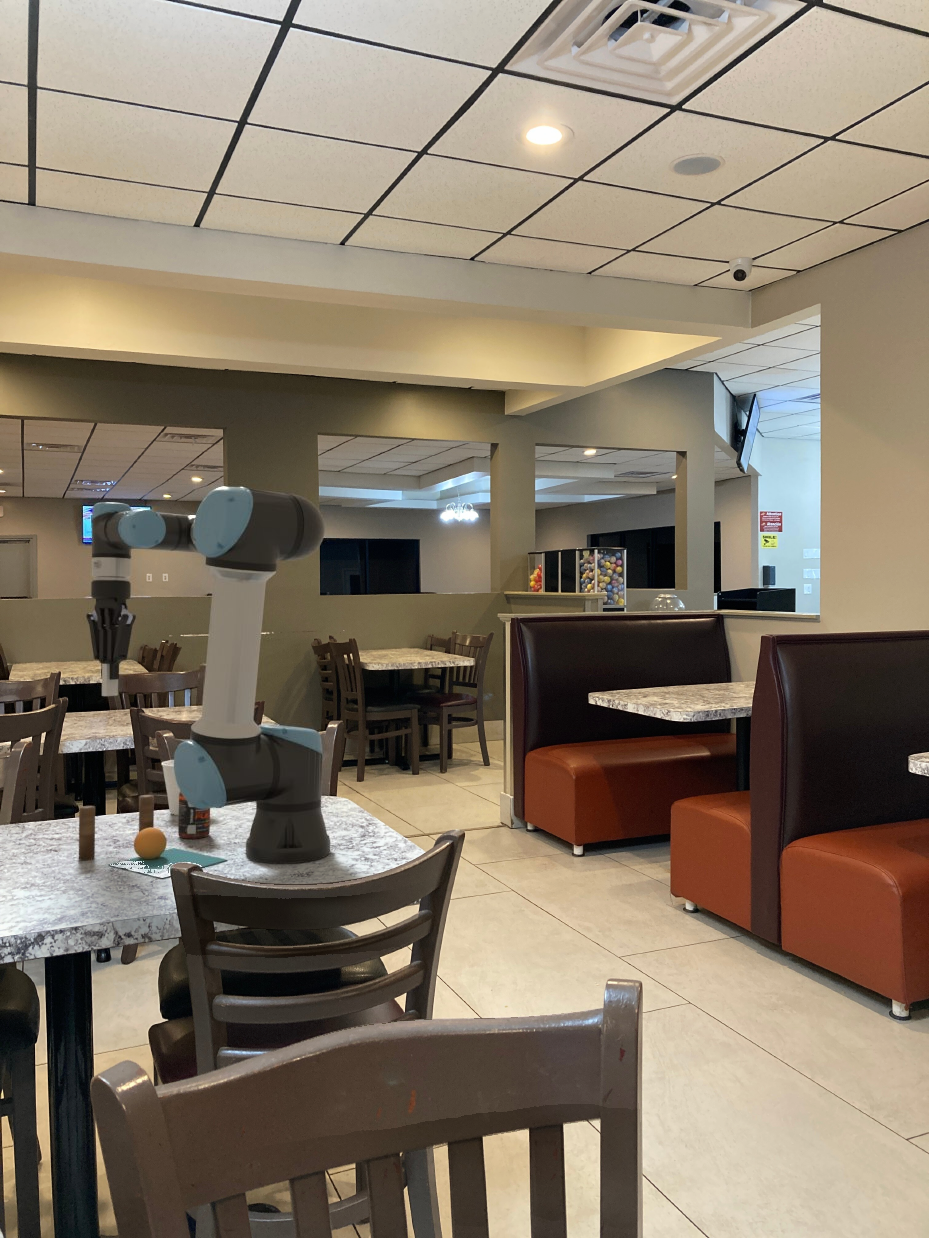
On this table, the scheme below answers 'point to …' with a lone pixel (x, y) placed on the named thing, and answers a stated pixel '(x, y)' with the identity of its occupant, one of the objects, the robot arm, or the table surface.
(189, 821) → the supplement bottle
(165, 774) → the cup
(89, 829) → the post left
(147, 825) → the post right
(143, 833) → the ball
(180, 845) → the table surface
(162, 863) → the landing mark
